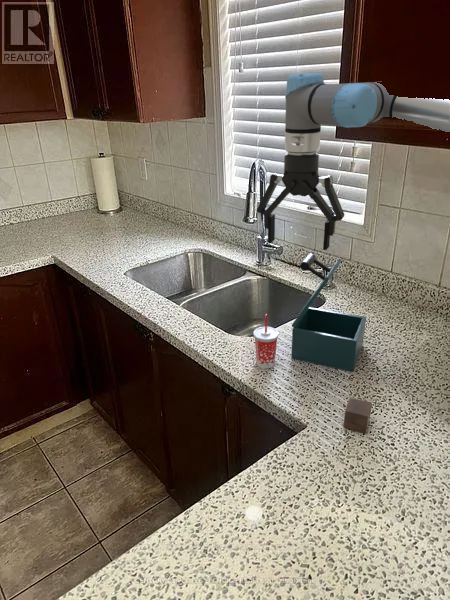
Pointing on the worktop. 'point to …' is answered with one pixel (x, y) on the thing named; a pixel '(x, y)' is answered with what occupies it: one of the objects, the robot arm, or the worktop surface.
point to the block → (357, 415)
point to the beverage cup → (265, 345)
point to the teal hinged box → (328, 338)
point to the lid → (306, 266)
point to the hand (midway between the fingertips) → (297, 244)
